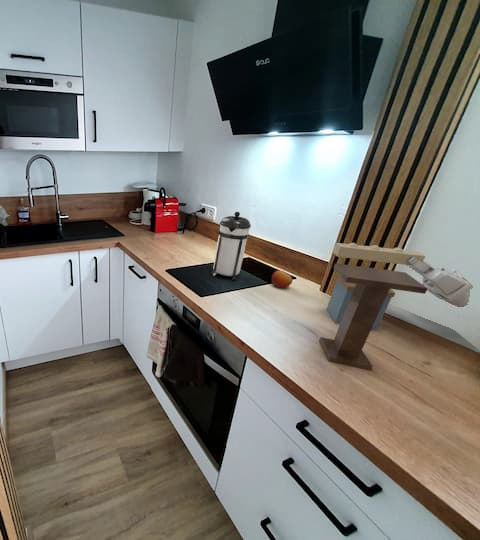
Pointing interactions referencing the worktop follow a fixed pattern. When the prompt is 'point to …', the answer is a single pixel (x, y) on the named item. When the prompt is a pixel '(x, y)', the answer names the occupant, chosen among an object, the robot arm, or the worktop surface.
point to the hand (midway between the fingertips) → (405, 255)
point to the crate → (342, 299)
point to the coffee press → (231, 245)
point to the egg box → (376, 253)
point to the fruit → (281, 279)
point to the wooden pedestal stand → (363, 311)
